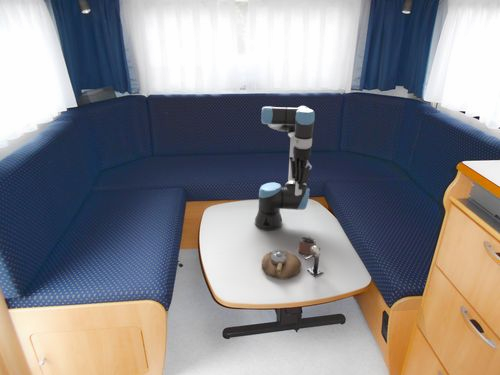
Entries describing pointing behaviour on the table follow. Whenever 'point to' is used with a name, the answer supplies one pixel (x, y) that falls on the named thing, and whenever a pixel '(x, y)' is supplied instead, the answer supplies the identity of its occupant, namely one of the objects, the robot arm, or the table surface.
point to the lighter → (306, 245)
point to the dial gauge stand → (315, 261)
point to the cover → (278, 257)
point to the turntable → (281, 271)
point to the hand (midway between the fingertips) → (298, 194)
